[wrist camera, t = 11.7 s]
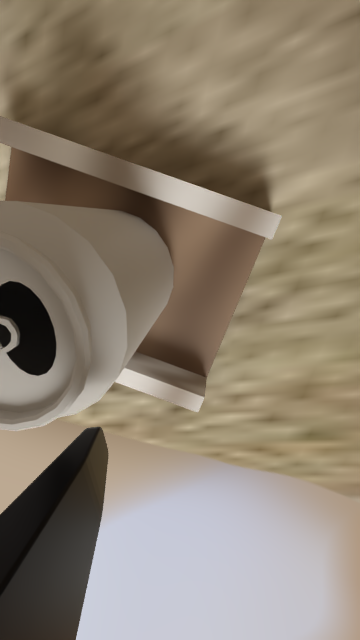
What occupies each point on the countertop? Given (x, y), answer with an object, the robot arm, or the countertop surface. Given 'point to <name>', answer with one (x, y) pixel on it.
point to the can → (72, 305)
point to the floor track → (177, 233)
